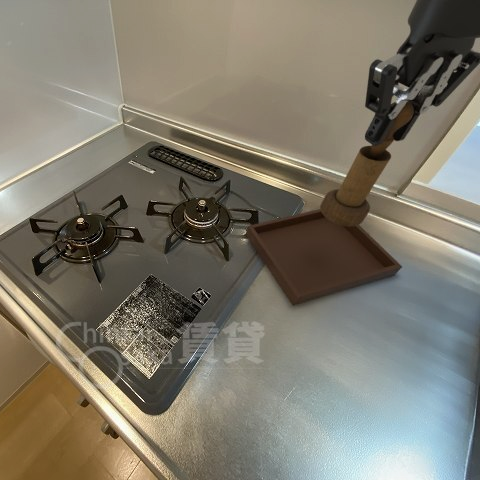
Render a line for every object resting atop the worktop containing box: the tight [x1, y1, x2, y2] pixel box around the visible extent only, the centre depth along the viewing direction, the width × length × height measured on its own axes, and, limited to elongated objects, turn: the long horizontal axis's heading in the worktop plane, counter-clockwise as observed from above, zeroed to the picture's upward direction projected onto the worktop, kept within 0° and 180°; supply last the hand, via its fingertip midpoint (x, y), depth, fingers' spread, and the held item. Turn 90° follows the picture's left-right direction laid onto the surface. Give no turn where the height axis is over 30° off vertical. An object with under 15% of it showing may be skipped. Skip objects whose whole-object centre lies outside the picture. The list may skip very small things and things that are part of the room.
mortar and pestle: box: [319, 101, 414, 226], centre depth 44 cm, size 7×6×18 cm
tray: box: [245, 208, 403, 306], centre depth 61 cm, size 22×18×3 cm
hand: (383, 139), depth 41 cm, fingers closed on mortar and pestle, 3 cm apart
